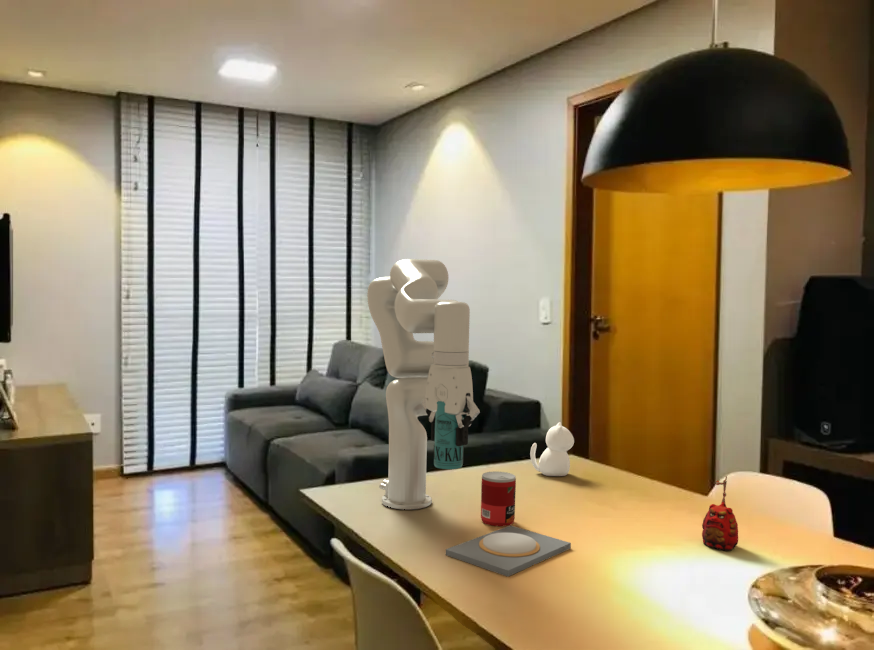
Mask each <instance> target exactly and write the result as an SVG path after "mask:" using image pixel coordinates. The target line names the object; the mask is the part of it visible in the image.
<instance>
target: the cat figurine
mask: <svg viewBox="0 0 874 650" xmlns="http://www.w3.org/2000/svg"><path fill="white" fill-rule="evenodd" d="M545 443H546V446H547V447H546V449H544V451H542V454H541V455H540V457H539V461H538V462H537V459H536V451H537V446H538V445H537V443H536V442H534V443H533V444H532V446H531V447H530V453H529V455H530V461H531V464H532V467H533V468H534V469H535V470H536V471H537V472H540V473H541V474H542V475H544V476H547V477H565V476H568V474H569V472H570V470H571V469H570V468H571V460H570V456H569V454H568V451H569V450H570V449H571V448H572V447H573V446H574V443H575V438H574V435H573V433H572V432H571V431H570V430H569V429H568V428H567V427H565V426H563V425H562V422H561V421H559V422H558V423H556V424H555V425H553V426H552V427H550V428H549V429H548V430H547V432H546V436H545Z"/></svg>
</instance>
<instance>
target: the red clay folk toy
mask: <svg viewBox="0 0 874 650" xmlns="http://www.w3.org/2000/svg"><path fill="white" fill-rule="evenodd" d="M727 479H728V476H727V475H725V478H724V480H723V482H721V481H719V480H716V481H715V482H716V484H715V485H716V486H720V485H722V486H723V492H722V496H723V497H722V500H721V503H720V504H719V505H718V504H715V503H712V504H710V505H709V508H708V511H707V512H706V513H705V516H704V518H703V521H702V523H701V526H702V532H701V537H702V543H703V545H706V546H707V547H711V548H715V549H716V550H718V551H726V552H727V551H729V552H731V551H732V550H733V549H734V548H736V547H737V546H738V543H739V527H738V526H739V525H738V521H737V519H736V515H735V514H734V512H733V508H731V507H727V505H726V497H727V493H726V489H727V484H728V483H727V482H728V480H727Z"/></svg>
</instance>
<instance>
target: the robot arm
mask: <svg viewBox="0 0 874 650" xmlns="http://www.w3.org/2000/svg"><path fill="white" fill-rule="evenodd" d="M448 284H449V271H448V269H447V266H446V265H445V264H444V263H443V262H442V261H440V260H439V259H419V258H418V259H417V258H404V259H401V260H398V261H396V262H395V263H394V264H393V265H392V266H391V268H390V271H389V276H381V277H378V278H375V279H373V280H371V282H370V283H369V285H368V288H367V292H366V293H367V295H366V296H367V305H368V311H369V312H370V316H371V318H372V320H373V322H374V324H375V326H376V329H377V330H378V332H379V336H380V342H381V347H382V352H383V357H384V362H385V367H386V371H387V373H389V375H390V376H391V377H393V378H395V379H394V380H392V381H390V382H389V383H388V385H387V386H386V390H385V398H386V399H385V402H386V406H387V407H386V408H387V416H388V478H387V479H384V480H383V481H382V482H381V483H380V484H379V487H378V488H379V489H380V490H384V491H385V492H384V495H382V496H381V503H382V505H384V506H385V507H387V506H388V507H387V508H390V507H391V508H390V509H395V510H396V509H397V510H404V509H405V511H406V510H409V511H410V510H419V509H425V508H427V507H429V506H431V504H432V502H433V501H432V500H433V499H432V497H431V496H430V495H429V494H427V457H428V456H427V451H428V435H427V434H428V433H427V431H426V429H425V427H424V425H423V424H422V423H421V421H419V419H418V417H423V416H428V421H429V422H430V431H431V432H430V441H433V442H435V441H434V440H435V436H434V435H435V433H434V432H435V422H434V421H435V417H436V411H437V402H438V401H442V402H443V401H444V403H445V413H447V414H451V415H455V416H456V419H457V423H458V426H459V427H456V446H463V445H464V446H467V445H468V443H469V427H471V425H472V424H473V422H474V421H475V420H476V418H477V417H478V416H479V414H480V413H481V412H480V409H479V408H478V406H477V405H476V403H475V402H474V392H473V391H474V390H473V379H472V378H473V377H472V371H471V367H470V366H469V358H470V357H469V356H470V355H469V354H470V353H469V352H470V319H471V318H470V316H471V315H470V313H471V312H470V306H469V304H468V303H466V302H464V301H458V300H455V299H440V297H442V295H443V294H444V292H445V291H446V289H447V288H448ZM414 334H433V341H431V340H430V341H429V340H422V341H421V340H420V341H419V340H416V339H415V338H414ZM462 416H463V418H464V419H462Z"/></svg>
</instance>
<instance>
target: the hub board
mask: <svg viewBox="0 0 874 650" xmlns="http://www.w3.org/2000/svg"><path fill="white" fill-rule="evenodd" d="M571 547H572V543H571V542H570V541H566V540H563V539H559V538H556V537H553V536H549V535H546V534H545V535H544V534H542V533H538V532H535V531H533V530H532V531H531V530H528V529H525V528H521V527H517V526H514V525H512V524H511V525H509V526H503V527H502V528H499V529H497V530H493V531H491V532H488V533H485V534H483V535H481V536H478V537H476V538H475V537H474V538H473V539H470V540H468V541H464V542H461V543H459V544H456V545H454V546H450V547H449V548H446V549H445V556H448V557H451V558H452V559H456V560H459V561H462V562H465V563H467V564H471V565H473V566H476V567H479V568H482V569H485V570H488V571H490V572H493V573H496V574H499V575H502V576H505V577H510V576H513V575H514V574H517V573H520V572H522V571H523V570H526V569H528V568H530V567H533V566H535V565H537V564H539V563H541V561H542V562H543V560H544V561H545V559H546V560H548V559H550V558H553V557H555V556H557V555H559V554H562V553H563V552H566V551H568V550H570V549H571ZM552 556H553V557H552ZM534 564H535V565H534ZM532 565H533V566H532Z"/></svg>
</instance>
